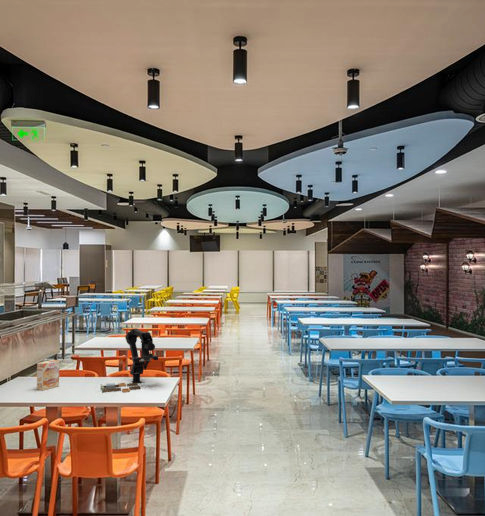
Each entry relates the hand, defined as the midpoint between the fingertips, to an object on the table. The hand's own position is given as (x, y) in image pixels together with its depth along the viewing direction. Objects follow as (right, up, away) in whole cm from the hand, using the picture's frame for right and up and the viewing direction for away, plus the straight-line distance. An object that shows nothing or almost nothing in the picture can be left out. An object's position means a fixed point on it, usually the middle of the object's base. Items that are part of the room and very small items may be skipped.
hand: (145, 369), depth 366 cm
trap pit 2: (-10, -12, -17) cm, 23 cm away
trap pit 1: (-17, -12, -1) cm, 21 cm away
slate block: (-23, -12, -13) cm, 29 cm away
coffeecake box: (-70, -12, -8) cm, 72 cm away
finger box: (-17, -12, -10) cm, 23 cm away
